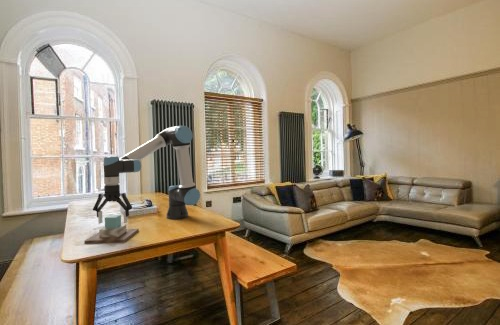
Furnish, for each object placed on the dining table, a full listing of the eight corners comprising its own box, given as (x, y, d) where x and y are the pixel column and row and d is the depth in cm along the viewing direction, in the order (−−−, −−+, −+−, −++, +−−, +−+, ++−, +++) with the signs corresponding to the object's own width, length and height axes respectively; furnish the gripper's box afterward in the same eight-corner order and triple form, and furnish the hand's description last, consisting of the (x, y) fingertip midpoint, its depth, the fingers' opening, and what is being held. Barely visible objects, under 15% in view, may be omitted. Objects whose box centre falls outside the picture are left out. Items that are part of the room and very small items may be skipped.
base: (138, 231, 157) (138, 221, 157) (124, 242, 137) (123, 232, 137) (103, 231, 156) (103, 222, 156) (84, 243, 136) (84, 232, 136)
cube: (121, 225, 150) (120, 214, 149) (116, 228, 144) (116, 217, 143) (110, 225, 149) (110, 215, 149) (105, 228, 143) (104, 217, 143)
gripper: (84, 185, 141) (86, 225, 142) (132, 184, 142) (133, 224, 143) (92, 184, 149) (93, 221, 149) (137, 183, 150) (138, 220, 151)
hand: (113, 222), depth 146 cm, fingers open, 13 cm apart
